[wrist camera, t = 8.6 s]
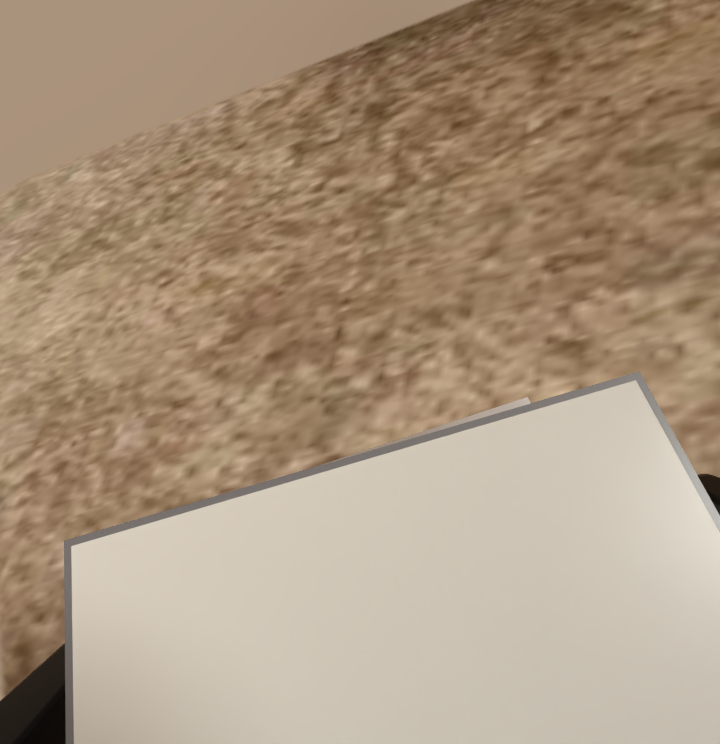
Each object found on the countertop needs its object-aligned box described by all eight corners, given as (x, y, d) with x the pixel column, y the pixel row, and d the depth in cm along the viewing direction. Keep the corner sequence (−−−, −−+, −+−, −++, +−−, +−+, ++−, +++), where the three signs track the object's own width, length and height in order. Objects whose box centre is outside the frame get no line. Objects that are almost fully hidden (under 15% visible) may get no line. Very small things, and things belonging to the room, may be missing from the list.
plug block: (521, 674, 14) (1104, 1201, 2) (378, 715, 14) (70, 1483, 2) (476, 540, 15) (639, 372, 3) (346, 578, 15) (64, 540, 3)
